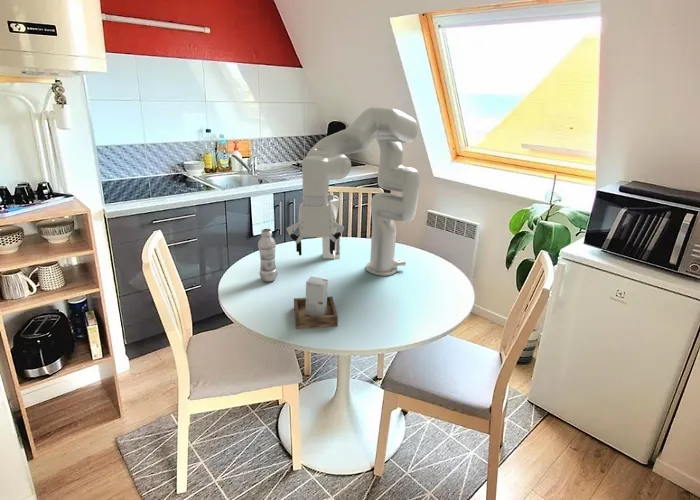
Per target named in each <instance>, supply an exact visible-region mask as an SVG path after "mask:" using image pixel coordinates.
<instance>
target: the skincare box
mask: <svg viewBox="0 0 700 500" xmlns="http://www.w3.org/2000/svg"><path fill="white" fill-rule="evenodd" d="M328 283H329V280H328V279H325V278H321V277H315V276H310V277H309V278H308V279H307V280H306V282H305V298H306V313H305V314H306V315H309V316H324V315H325V313H326V311H327V297H328V285H329V284H328Z"/></svg>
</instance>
